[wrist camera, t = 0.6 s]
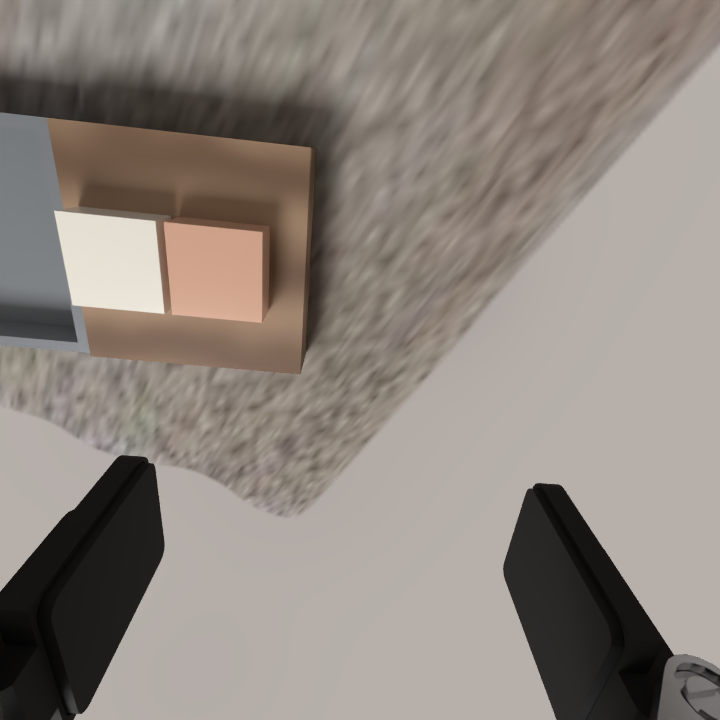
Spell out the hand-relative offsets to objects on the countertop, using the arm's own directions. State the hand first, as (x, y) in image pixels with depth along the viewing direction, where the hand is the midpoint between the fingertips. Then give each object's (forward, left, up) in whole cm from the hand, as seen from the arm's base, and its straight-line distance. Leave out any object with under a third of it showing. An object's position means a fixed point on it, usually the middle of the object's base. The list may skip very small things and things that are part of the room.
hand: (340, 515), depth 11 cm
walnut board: (0, -11, -26) cm, 28 cm away
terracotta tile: (0, -9, -22) cm, 23 cm away
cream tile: (0, -15, -22) cm, 27 cm away
